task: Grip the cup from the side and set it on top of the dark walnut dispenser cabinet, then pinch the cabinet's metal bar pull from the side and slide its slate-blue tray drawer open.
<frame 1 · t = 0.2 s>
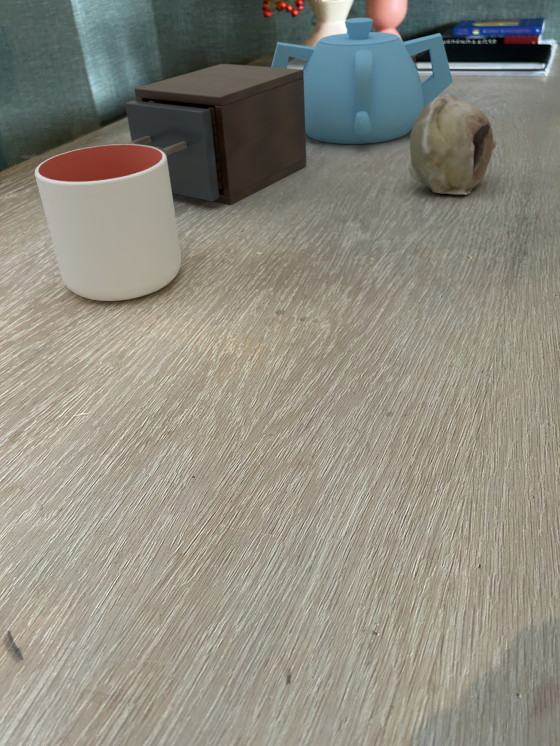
drawer: (195, 141, 72), point 5 cm above the table, slide at 1.0 cm
garlic bulb: (450, 188, 72), on the table
cabinet: (230, 176, 79), on the table
teapot: (357, 129, 94), on the table
cup: (125, 281, 57), on the table
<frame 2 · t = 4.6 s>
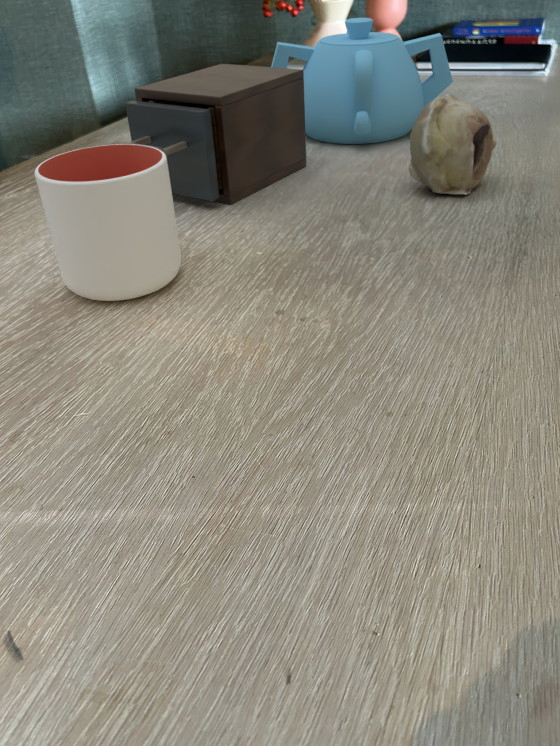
nothing on the table moved.
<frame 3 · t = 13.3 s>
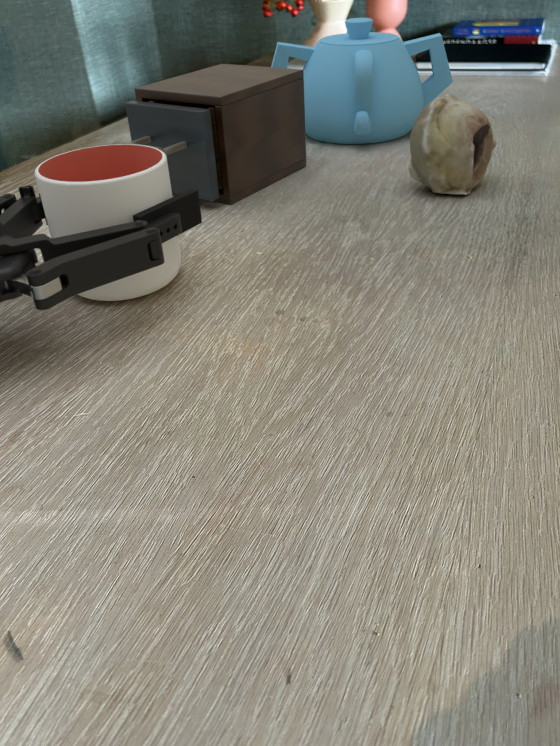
hand: (148, 195, 57), 6 cm above the table, tool horizontal, fingers closed on cup, 10 cm apart
cup: (125, 281, 57), on the table, touching gripper
everything else where it was.
when the fingers open (17 cm above the table, at t = 23.9 s): cup stays where it is, resting on cabinet.
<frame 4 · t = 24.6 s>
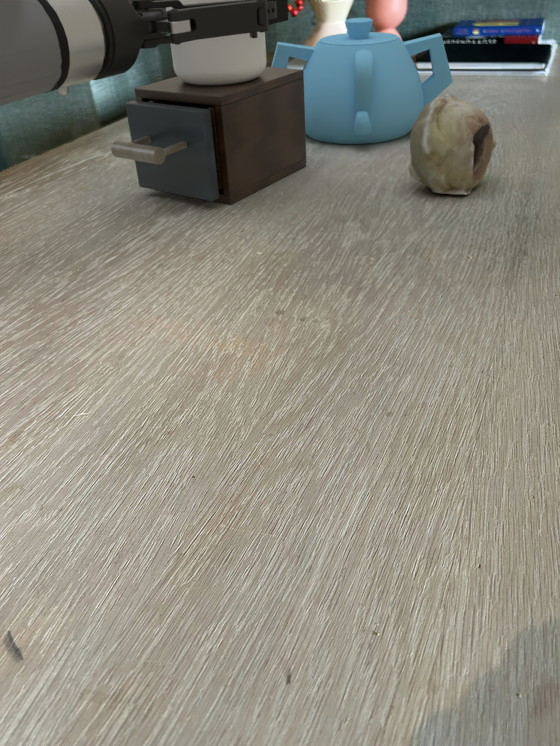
hand: (232, 4, 71), 18 cm above the table, tool horizontal, fingers open, 13 cm apart
cup: (221, 80, 73), point 11 cm above the table, touching cabinet
everything else where it was.
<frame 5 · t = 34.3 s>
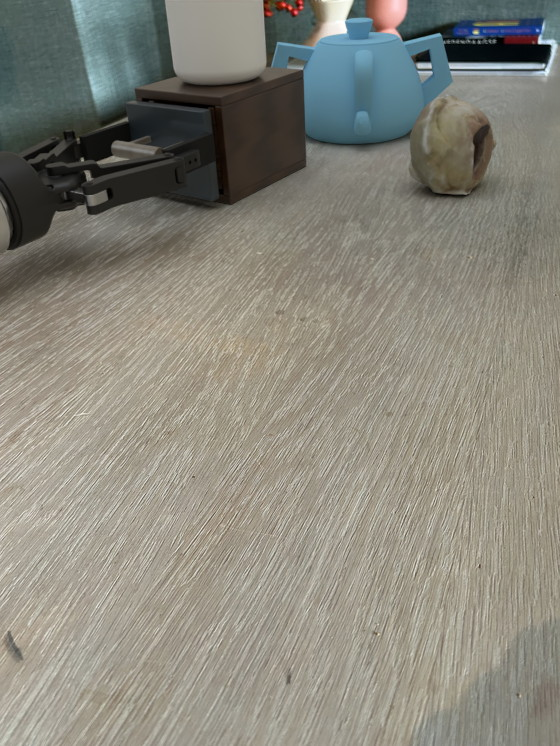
hand: (169, 140, 69), 6 cm above the table, tool horizontal, fingers closed on drawer, 11 cm apart
drawer: (195, 141, 72), point 5 cm above the table, slide at 1.0 cm, touching gripper
everything else where it was.
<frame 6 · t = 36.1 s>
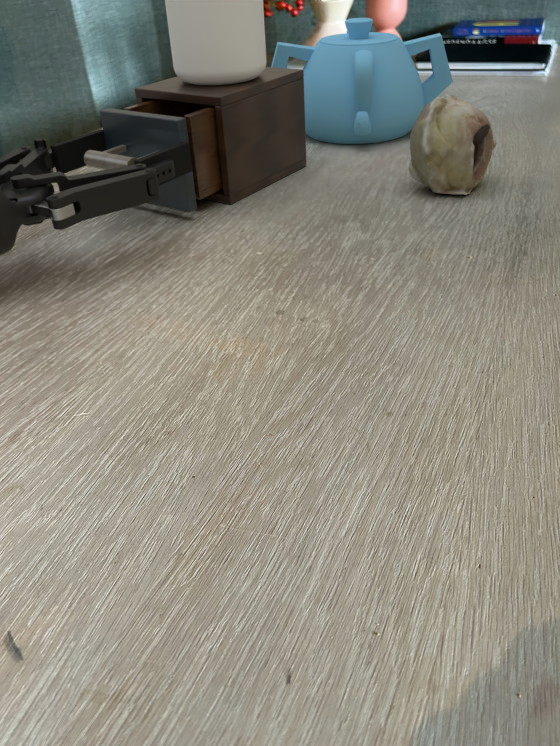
hand: (145, 149, 67), 6 cm above the table, tool horizontal, fingers closed on drawer, 11 cm apart
drawer: (173, 150, 70), point 5 cm above the table, slide at 4.6 cm, touching gripper
everything else where it was.
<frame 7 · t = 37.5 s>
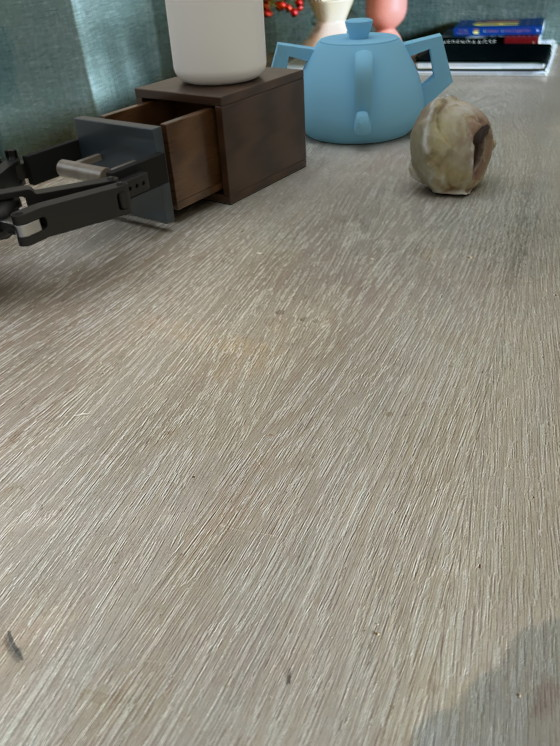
hand: (120, 159, 65), 6 cm above the table, tool horizontal, fingers closed on drawer, 11 cm apart
drawer: (150, 159, 68), point 5 cm above the table, slide at 7.9 cm, touching gripper
everything else where it was.
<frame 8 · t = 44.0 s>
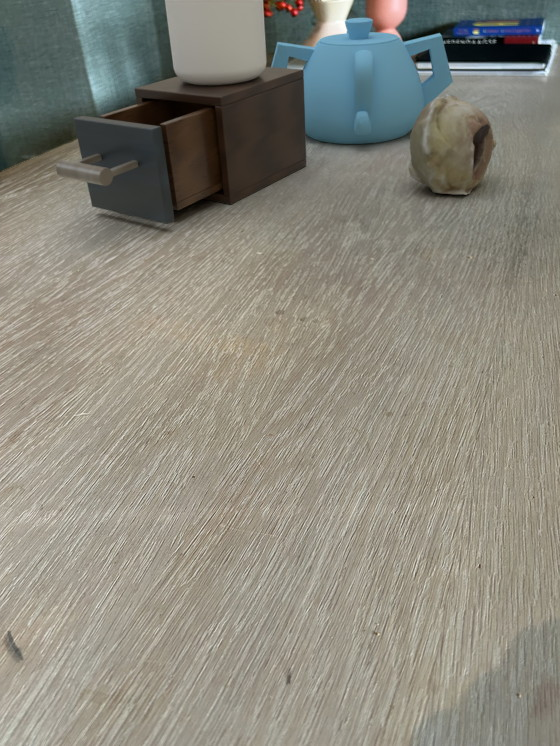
drawer: (150, 159, 68), point 5 cm above the table, slide at 8.0 cm
everything else where it was.
at the end: drawer slide at 8.0 cm; cup inside the target area on the cabinet (0.0 cm from its centre), point 10.6 cm above the cabinet's base; cup tilted 0° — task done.
